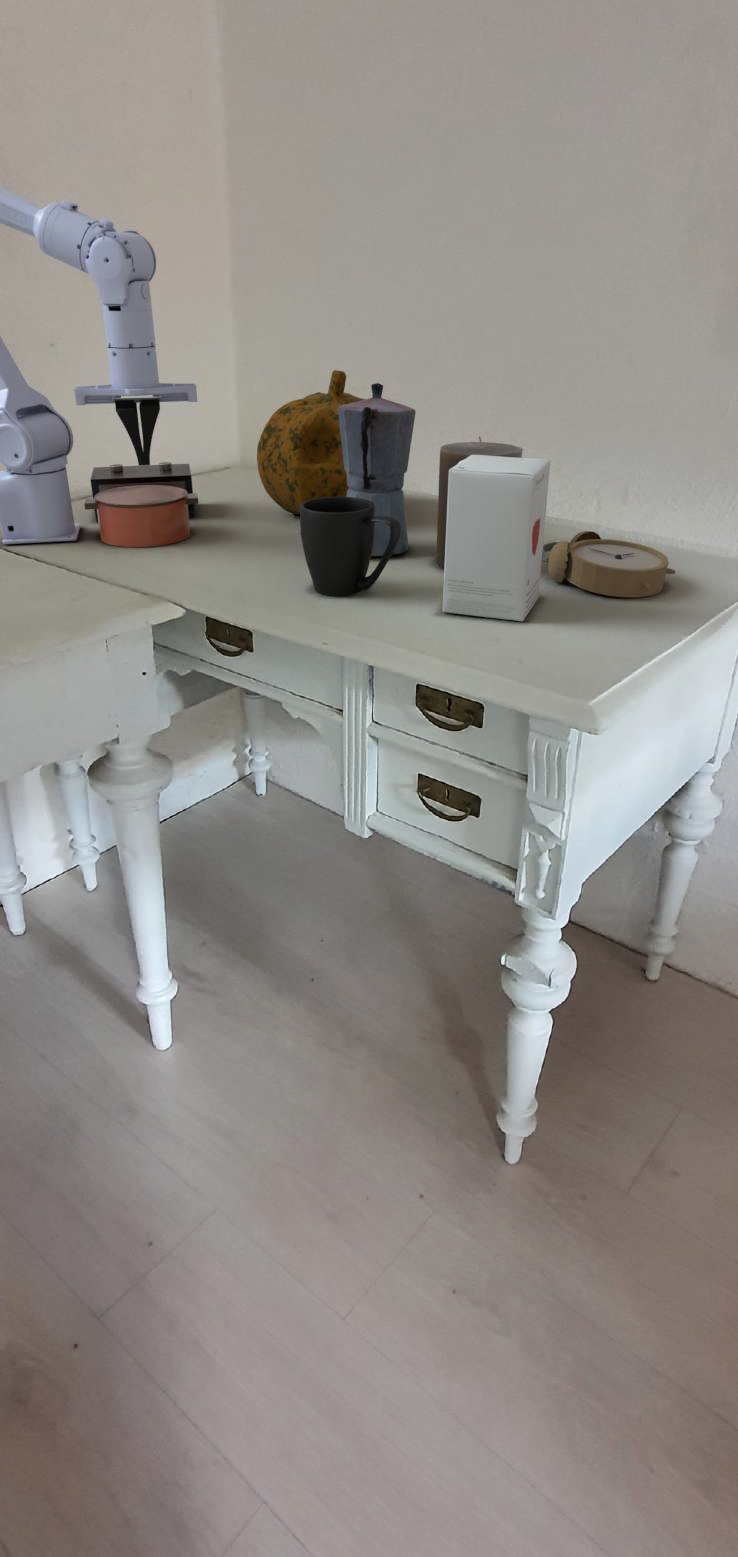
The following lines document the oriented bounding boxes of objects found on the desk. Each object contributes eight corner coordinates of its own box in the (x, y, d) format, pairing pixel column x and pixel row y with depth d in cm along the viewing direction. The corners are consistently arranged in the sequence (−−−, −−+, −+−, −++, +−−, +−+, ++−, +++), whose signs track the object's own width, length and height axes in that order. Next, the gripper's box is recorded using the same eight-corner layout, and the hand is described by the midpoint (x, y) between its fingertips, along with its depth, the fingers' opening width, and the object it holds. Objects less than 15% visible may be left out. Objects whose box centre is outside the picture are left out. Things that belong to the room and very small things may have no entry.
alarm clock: (647, 579, 103) (526, 533, 110) (633, 621, 106) (517, 574, 112) (686, 556, 111) (571, 514, 118) (672, 595, 114) (561, 552, 120)
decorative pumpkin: (246, 496, 149) (250, 355, 139) (377, 499, 154) (389, 364, 144) (267, 533, 132) (273, 376, 122) (413, 536, 138) (430, 386, 128)
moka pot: (415, 536, 131) (419, 377, 121) (408, 569, 117) (411, 393, 107) (345, 535, 131) (343, 376, 122) (330, 567, 118) (326, 392, 108)
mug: (373, 611, 103) (373, 521, 99) (287, 591, 110) (284, 506, 105) (416, 592, 109) (418, 506, 105) (332, 574, 115) (330, 492, 111)
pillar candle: (448, 577, 114) (452, 444, 107) (427, 555, 123) (430, 430, 115) (526, 572, 116) (536, 441, 109) (501, 550, 124) (508, 428, 117)
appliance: (96, 522, 138) (89, 473, 135) (99, 508, 146) (92, 461, 143) (195, 517, 141) (190, 469, 137) (192, 503, 148) (188, 457, 145)
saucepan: (88, 550, 125) (81, 507, 123) (91, 527, 136) (86, 487, 133) (203, 543, 128) (199, 501, 125) (198, 521, 138) (194, 482, 136)
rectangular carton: (524, 623, 100) (536, 474, 93) (440, 614, 102) (445, 468, 95) (541, 597, 107) (553, 457, 100) (462, 589, 110) (468, 452, 103)
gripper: (66, 350, 111) (83, 472, 118) (193, 347, 114) (203, 467, 120) (70, 345, 117) (86, 461, 124) (191, 343, 120) (201, 457, 126)
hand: (144, 463), depth 122 cm, fingers closed
